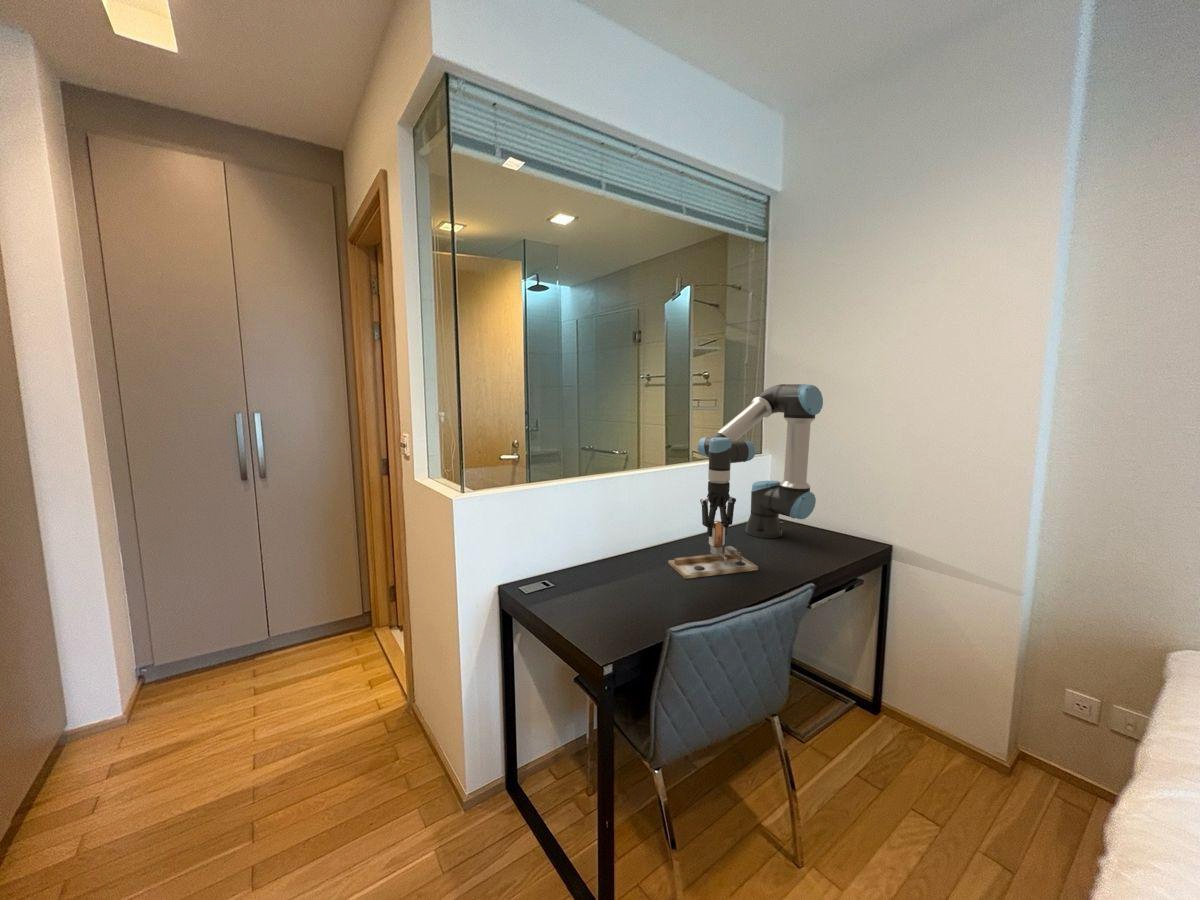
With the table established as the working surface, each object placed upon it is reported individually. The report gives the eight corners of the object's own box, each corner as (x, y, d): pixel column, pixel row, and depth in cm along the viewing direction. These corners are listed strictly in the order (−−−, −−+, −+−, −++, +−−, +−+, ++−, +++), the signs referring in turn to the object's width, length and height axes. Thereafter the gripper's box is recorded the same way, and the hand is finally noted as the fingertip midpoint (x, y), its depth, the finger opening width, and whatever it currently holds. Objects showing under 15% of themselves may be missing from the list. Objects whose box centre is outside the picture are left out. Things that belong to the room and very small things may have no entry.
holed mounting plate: (736, 556, 181) (736, 543, 180) (758, 569, 167) (758, 556, 167) (668, 563, 173) (668, 550, 172) (685, 578, 160) (685, 564, 159)
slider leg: (717, 555, 176) (718, 520, 174) (730, 564, 167) (732, 527, 166) (709, 556, 175) (710, 521, 173) (721, 565, 166) (723, 528, 165)
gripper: (733, 477, 175) (731, 539, 179) (693, 480, 171) (691, 543, 174) (745, 481, 168) (742, 545, 172) (703, 484, 164) (701, 549, 167)
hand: (716, 544), depth 173 cm, fingers closed on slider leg, 3 cm apart
